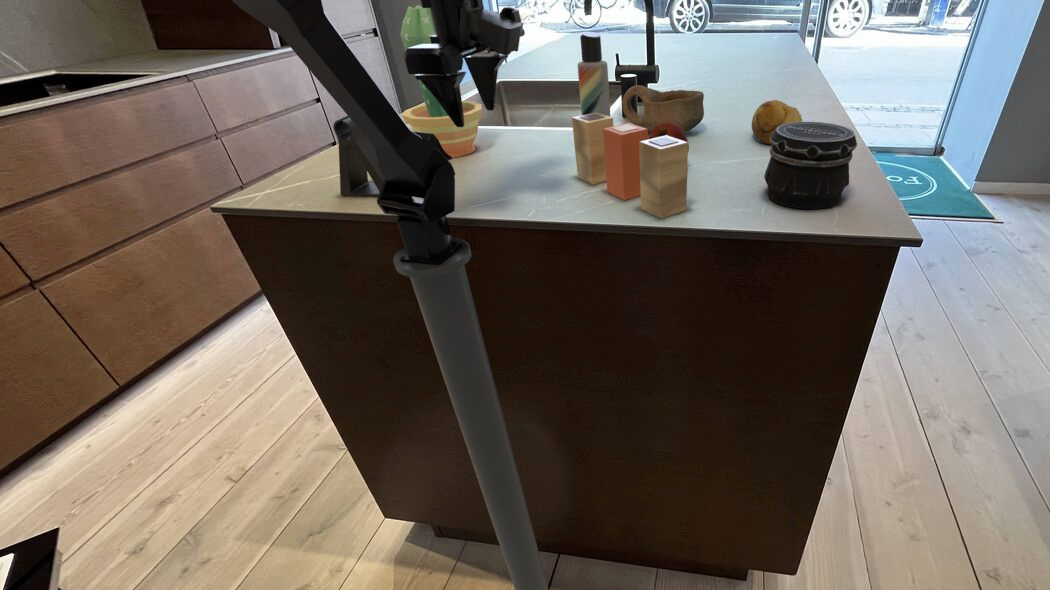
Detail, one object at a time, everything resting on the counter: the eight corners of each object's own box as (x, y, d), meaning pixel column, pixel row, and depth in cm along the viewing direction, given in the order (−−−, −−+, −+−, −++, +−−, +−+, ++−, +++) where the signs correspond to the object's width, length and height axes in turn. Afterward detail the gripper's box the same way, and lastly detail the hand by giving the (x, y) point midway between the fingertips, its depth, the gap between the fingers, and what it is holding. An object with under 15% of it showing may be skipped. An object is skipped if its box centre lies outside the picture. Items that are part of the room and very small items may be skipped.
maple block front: (686, 210, 80) (688, 141, 74) (660, 218, 78) (660, 148, 72) (666, 201, 84) (666, 134, 77) (640, 209, 81) (638, 140, 75)
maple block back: (616, 178, 93) (613, 116, 86) (592, 184, 90) (587, 122, 84) (601, 171, 96) (596, 111, 90) (577, 177, 94) (571, 116, 87)
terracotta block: (624, 200, 84) (621, 134, 78) (607, 192, 87) (602, 127, 81) (649, 193, 86) (647, 128, 80) (631, 185, 90) (629, 122, 84)
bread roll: (745, 131, 114) (748, 90, 109) (789, 129, 114) (795, 88, 109) (755, 148, 104) (760, 104, 99) (805, 146, 104) (812, 102, 99)
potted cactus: (450, 167, 100) (411, 10, 85) (397, 156, 107) (352, 8, 91) (506, 146, 110) (481, 2, 95) (455, 137, 117) (423, 1, 102)
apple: (638, 170, 96) (636, 123, 91) (665, 159, 100) (665, 114, 95) (669, 178, 92) (669, 130, 87) (696, 167, 96) (698, 120, 91)
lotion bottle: (599, 140, 112) (591, 29, 100) (617, 145, 109) (611, 31, 96) (578, 146, 109) (568, 33, 97) (597, 151, 105) (588, 35, 93)
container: (842, 184, 87) (855, 120, 81) (848, 214, 77) (864, 144, 71) (763, 180, 90) (771, 118, 83) (760, 209, 80) (768, 141, 74)
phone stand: (407, 184, 93) (385, 111, 86) (391, 196, 89) (366, 120, 81) (359, 183, 94) (333, 111, 87) (341, 196, 90) (312, 120, 82)
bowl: (616, 135, 109) (615, 81, 105) (626, 137, 122) (625, 88, 118) (702, 134, 107) (704, 79, 103) (703, 136, 120) (705, 87, 116)
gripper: (470, -9, 58) (498, 138, 68) (535, -20, 72) (551, 103, 82) (382, -7, 60) (422, 135, 70) (462, -18, 74) (486, 102, 84)
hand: (476, 118), depth 76 cm, fingers open, 9 cm apart
